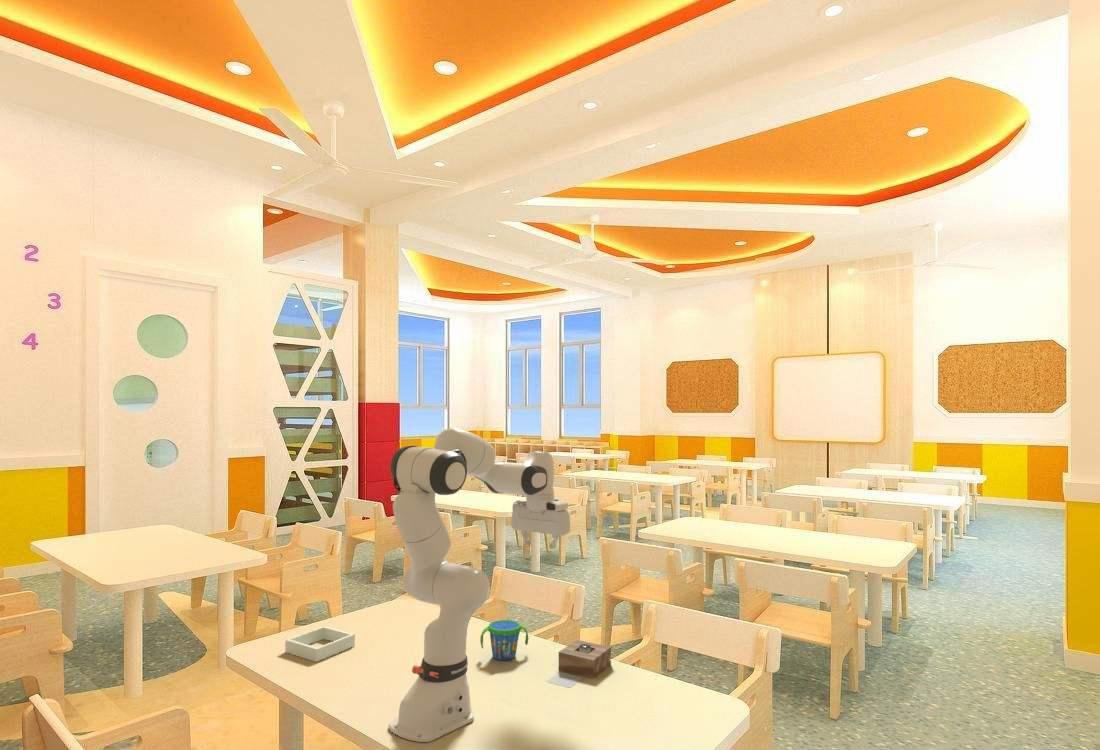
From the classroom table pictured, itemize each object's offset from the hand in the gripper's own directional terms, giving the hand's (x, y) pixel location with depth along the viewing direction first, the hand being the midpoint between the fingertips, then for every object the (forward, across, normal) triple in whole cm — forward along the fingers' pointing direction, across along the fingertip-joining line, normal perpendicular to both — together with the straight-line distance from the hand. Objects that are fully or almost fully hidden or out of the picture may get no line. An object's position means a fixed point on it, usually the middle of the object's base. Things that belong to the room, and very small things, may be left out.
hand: (539, 546), depth 197 cm
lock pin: (+37, +13, +6) cm, 40 cm away
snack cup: (+37, -14, +1) cm, 40 cm away
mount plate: (+37, +12, -5) cm, 39 cm away
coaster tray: (+37, -70, -26) cm, 83 cm away
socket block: (+37, +13, +6) cm, 40 cm away
